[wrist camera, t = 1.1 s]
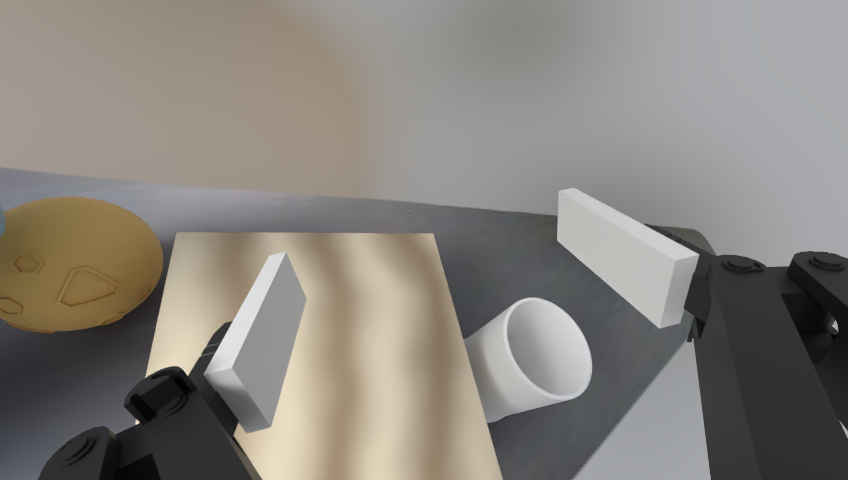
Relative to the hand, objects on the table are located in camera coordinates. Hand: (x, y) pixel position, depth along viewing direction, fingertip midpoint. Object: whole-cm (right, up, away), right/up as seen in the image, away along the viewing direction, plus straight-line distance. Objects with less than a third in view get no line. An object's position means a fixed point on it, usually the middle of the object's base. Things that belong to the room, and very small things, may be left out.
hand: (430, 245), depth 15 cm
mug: (+7, -15, +20) cm, 26 cm away
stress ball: (-28, -4, +13) cm, 31 cm away
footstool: (-10, -13, +14) cm, 21 cm away
